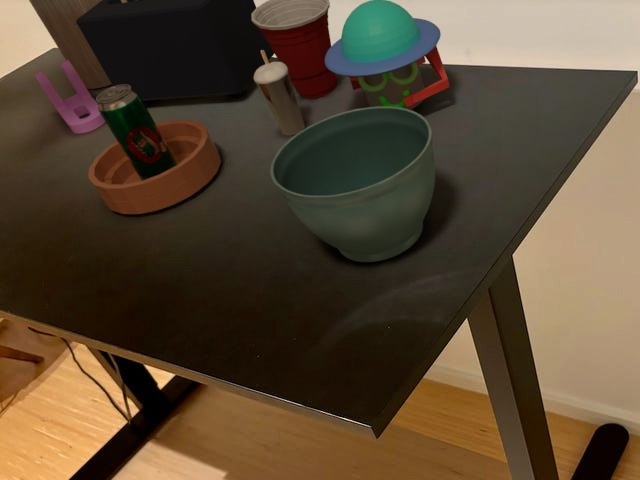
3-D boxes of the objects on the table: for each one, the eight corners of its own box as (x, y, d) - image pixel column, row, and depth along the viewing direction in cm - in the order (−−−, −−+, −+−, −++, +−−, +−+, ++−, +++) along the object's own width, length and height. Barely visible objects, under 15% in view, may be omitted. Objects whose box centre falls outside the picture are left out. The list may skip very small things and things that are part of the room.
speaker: (279, 62, 116) (240, -38, 105) (245, 103, 108) (198, 0, 97) (167, 72, 122) (119, -21, 111) (126, 112, 114) (70, 15, 103)
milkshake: (306, 114, 102) (278, 44, 94) (312, 131, 98) (283, 59, 91) (275, 125, 101) (245, 55, 94) (279, 142, 97) (249, 71, 90)
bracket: (58, 112, 119) (31, 72, 114) (90, 97, 121) (65, 57, 116) (77, 137, 111) (49, 94, 106) (111, 121, 113) (85, 78, 108)
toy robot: (346, 151, 92) (307, 43, 82) (346, 98, 103) (312, -5, 93) (461, 124, 92) (435, 11, 82) (449, 73, 102) (425, -33, 92)
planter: (83, 96, 122) (-8, -49, 106) (81, 75, 129) (-5, -64, 112) (140, 75, 124) (60, -72, 107) (135, 56, 130) (59, -85, 114)
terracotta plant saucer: (156, 228, 88) (137, 198, 85) (85, 204, 96) (64, 175, 93) (246, 159, 96) (231, 128, 93) (173, 142, 104) (157, 113, 100)
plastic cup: (333, 108, 101) (303, 22, 93) (270, 108, 105) (235, 25, 97) (367, 70, 108) (341, -14, 99) (306, 71, 112) (276, -10, 103)
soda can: (152, 170, 98) (102, 86, 89) (186, 164, 97) (139, 79, 88) (139, 191, 94) (85, 106, 86) (174, 186, 93) (124, 99, 85)
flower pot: (374, 180, 86) (345, 95, 79) (483, 209, 78) (463, 117, 70) (280, 262, 79) (237, 177, 71) (390, 303, 70) (355, 212, 63)
